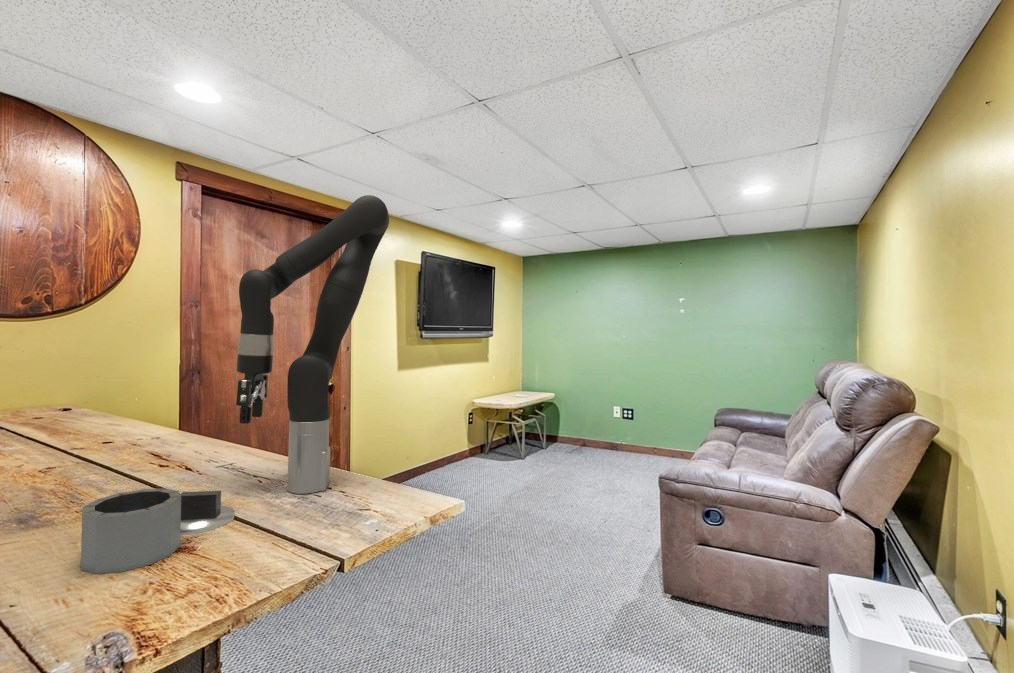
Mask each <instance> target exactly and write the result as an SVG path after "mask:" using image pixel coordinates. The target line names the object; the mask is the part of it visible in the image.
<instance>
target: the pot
mask: <svg viewBox="0 0 1014 673" xmlns="http://www.w3.org/2000/svg"><path fill="white" fill-rule="evenodd" d="M180 494H181V492H180V490H176V489H171V488H163V487H162V488H143V489H138V490H131V491H125V492H118V493H115V494H111V495H107V496H105V497H101V498H97V499H95V500H94V501H91V502H90V503H88V504H85V505H84V506H82V512H81V541H80V542H81V544H80V545H81V546H80V549H81V550H80V571H84V572H87V573H91V574H94V575H100V574H112V573H116V574H117V573H122V572H127V571H132V570H135V569H140V568H143V567H146V566H149V565H152V564H154V563H157V562H159V561H161V560H164V559H165V558H169V557H170V556H171V555H173V554H174V552H176V551H177V550H178V549H179V548H180V547H181V535H180V526H181V495H180Z"/></svg>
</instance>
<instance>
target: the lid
mask: <svg viewBox="0 0 1014 673" xmlns="http://www.w3.org/2000/svg"><path fill="white" fill-rule="evenodd" d="M180 495H181V526H180V536H185V535H188V536H189V535H195V534H201V533H206V532H210V531H213V530H216V529H220V528H221V527H224V526H226V525H228V524H229V523H231V522H232V521H233V520H234V519H235V514H236V513H235V509H234V508H232V507H231V506H226V505H222V490H202V491H183V492H180Z"/></svg>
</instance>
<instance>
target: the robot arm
mask: <svg viewBox="0 0 1014 673" xmlns="http://www.w3.org/2000/svg"><path fill="white" fill-rule="evenodd" d="M387 207H388V206H386V204H385V202H384V201H383V200H382V199H380V198H379V197H377V196H375V195H371V194H369V195H368V194H367V195H363V196H359V197H358V198H357V199H355V201H353V202H352V203H351V204H350V205H348V207H347V208H345V209H344V210H343V211H342V212H341V213H340V214H339V215H337V216H336V217H335V218H333V219H332V220H331V221H330V222H329V223H328V224H326V225H325V226H323V227H322V228H320V229H319V230H317V231H315V233H312V234H311V235H310V236H308V237H307V238H305V239H303V240H302V241H300V242H299V243H297V244H295V245H294V246H292V247H291V248H289V249H287V250H286V251H284V252H282V253H281V254H279V255H278V256H277V257H276V259H275V262H274V263H272V264H271V265H270V266H268V267H267V268H265V269H263V270H261V269H250V270H247V271H246V272H244V274H243V275H242V276H241V278H240V281H239V286H238V297H239V306H240V311H241V319H240V330H239V331H240V332H239V333H240V334H239V339H238V342H237V344H238V346H237V359H236V360H237V361H236V372H237V373H239V374H244V377H243V379H242V378H241V379H238V381H237V390H236V391H237V392H236V400H235V401H236V402H235V405H236V406H239V423H240V424H250V423H251V422H252V421H251V420H252V417H254V418H261V417H262V416H263V411H264V410H263V408H264V402H265V400H266V399H267V398H268V386H269V385H268V383H269V382H268V381H269V376H268V375H269V374H270V373H272V371H273V361H274V360H273V359H274V358H273V357H274V328H275V318H274V314H273V312H272V310H271V308H272V307H271V305H272V304H271V302H272V299H274V298H276V297H277V296H279V295H281V294H282V293H283V292H284V291H286V290H287V288H289V287H290V286H291V285H293V284H294V283H295V282H296V281H298V280H299V279H302V277H304V276H306V275H307V274H310V273H311V272H312V271H313V270H315V269H317V268H318V267H319V266H321V265H322V264H323V263H325V262H326V261H327V260H328V259H329V258H331V257H332V255H334V254H335V253H336V252H337V251H338V250H340V249H341V248H342V247H343V246H344V245H345V247H344V249H343V251H342V252H341V255H340V256H339V257H338V258H337V260H336V262H335V263H334V265H333V267H332V268H331V269H330V271H329V273H328V275H327V277H326V279H325V281H324V284H323V286H322V289H321V292H320V295H319V297H318V298H319V299H318V301H317V302H318V303H317V306H316V313H315V319H314V327H313V329H312V330H313V331H312V334H311V337H310V339H309V341H308V343H307V345H306V348H305V350H304V352H303V354H302V356H299V357H297V358H295V360H293V361H292V363H291V364H290V365H289V368H288V371H287V372H288V373H287V386H286V388H287V396H286V397H287V402H286V403H287V410H288V414H289V419H288V420H289V422H288V423H289V425H288V426H289V427H288V455H287V482H286V483H287V485H286V487H287V491H288V493H291V494H296V495H298V494H299V495H301V494H302V495H304V494H313V493H318V492H325V491H326V490H327V488H328V486H329V485H330V479H331V478H330V477H331V476H330V475H331V474H330V472H331V446H330V445H329V444H330V422H331V421H330V420H331V419H330V417H331V416H330V413H331V409H330V405H329V384H330V381H331V380H332V378H333V374H334V369H335V365H336V362H337V358H338V354H339V350H340V346H341V344H342V341H343V338H344V336H345V334H346V333H347V330H348V328H349V326H350V324H351V322H352V320H353V318H354V316H355V313H356V311H357V308H358V306H359V304H360V301H361V298H362V295H363V292H364V289H365V285H366V282H367V280H368V276H369V272H370V268H371V264H372V261H373V258H374V256H375V253H376V251H377V250H378V247H379V245H380V243H381V241H382V239H383V237H384V235H385V233H386V231H387V230H388V228H389V225H390V216H389V210H388V208H387Z"/></svg>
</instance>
